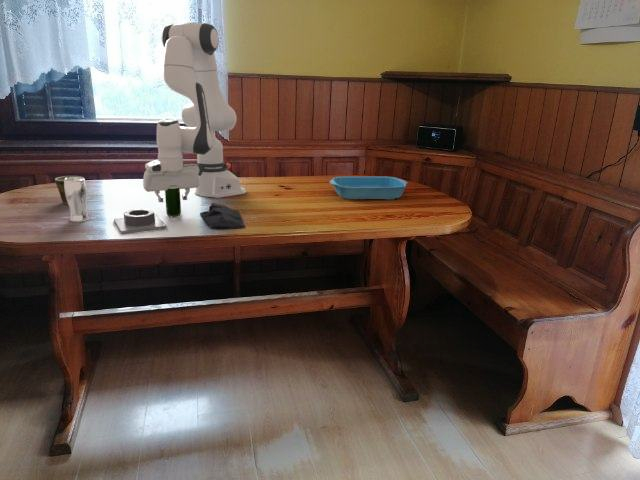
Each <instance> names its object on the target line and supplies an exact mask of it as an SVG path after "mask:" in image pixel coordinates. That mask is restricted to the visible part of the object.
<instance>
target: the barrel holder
mask: <svg viewBox="0 0 640 480" xmlns="http://www.w3.org/2000/svg"><path fill="white" fill-rule="evenodd" d="M113 222H114V224H115V226H116V227H117V229H118V231H119V232H120V234H121V235H128V234H136V233H145V231H146V232H153V230H154V231H161V230H167V229H168V226H167V224H166V223H165V222H164V221H163V220H162V218H161V217H160V216H159V215H158V214H155V211H153V210H152V209H148V208H135V209H130V210H126V211H124V212H123V217H118V218H117V217H116V218H113Z"/></svg>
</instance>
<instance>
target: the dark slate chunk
mask: <svg viewBox="0 0 640 480" xmlns="http://www.w3.org/2000/svg"><path fill="white" fill-rule="evenodd" d="M208 207H209V209H208V211H202V212H201V211H200V213H199V215H201V218H202V219H203V220H204V221H205V223H207V225H209V227H210V228H213V229H222V228H223V229H243V228H246V225H245V222H244V220H243V217H242V216H241V214H240V211H238V210H237V209H233V208H231V207H229V206H226V205H224V204H220V203H217V202H216V203H215V202H212V203H210V206H208Z"/></svg>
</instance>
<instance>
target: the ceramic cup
mask: <svg viewBox="0 0 640 480" xmlns="http://www.w3.org/2000/svg"><path fill="white" fill-rule="evenodd" d="M69 177H82V176H79V175H64V176H59V177H55V179H54V181H55V185H56V187H57V189H58V193H59V196H60V199H61V201H62V204H63V205H66V206H69V205H68V202H67V199H66V195H65V189H64V179H65V178H69Z"/></svg>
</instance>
